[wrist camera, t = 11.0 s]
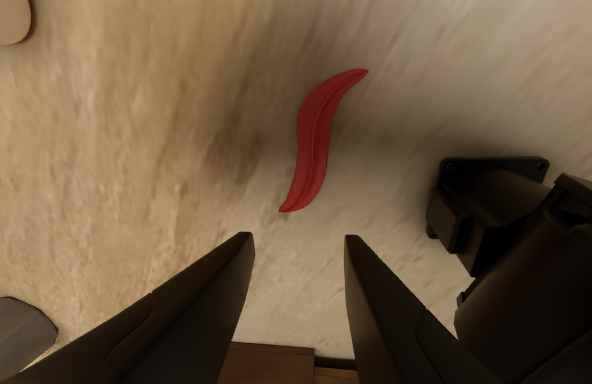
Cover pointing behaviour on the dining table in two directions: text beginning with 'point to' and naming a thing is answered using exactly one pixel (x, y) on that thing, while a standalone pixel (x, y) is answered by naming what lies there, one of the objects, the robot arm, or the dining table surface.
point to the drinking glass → (14, 20)
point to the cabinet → (267, 365)
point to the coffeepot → (22, 336)
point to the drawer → (334, 376)
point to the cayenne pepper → (316, 137)
